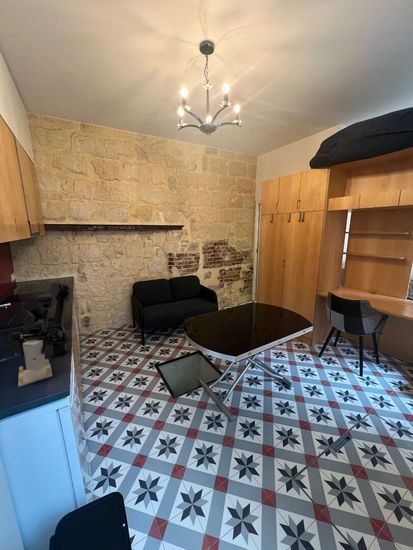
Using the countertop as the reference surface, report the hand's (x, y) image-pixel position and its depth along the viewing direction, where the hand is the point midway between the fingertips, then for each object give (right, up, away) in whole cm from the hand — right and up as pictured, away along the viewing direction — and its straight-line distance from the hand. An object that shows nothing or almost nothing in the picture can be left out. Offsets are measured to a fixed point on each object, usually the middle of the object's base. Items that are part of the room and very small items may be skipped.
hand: (32, 355), depth 99 cm
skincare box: (0, -6, +3) cm, 7 cm away
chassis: (-5, -12, +9) cm, 16 cm away
